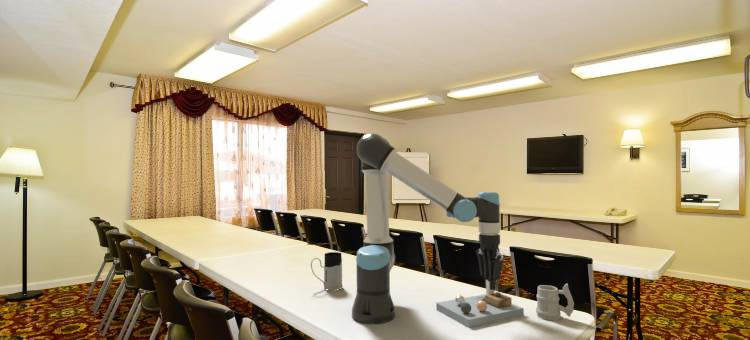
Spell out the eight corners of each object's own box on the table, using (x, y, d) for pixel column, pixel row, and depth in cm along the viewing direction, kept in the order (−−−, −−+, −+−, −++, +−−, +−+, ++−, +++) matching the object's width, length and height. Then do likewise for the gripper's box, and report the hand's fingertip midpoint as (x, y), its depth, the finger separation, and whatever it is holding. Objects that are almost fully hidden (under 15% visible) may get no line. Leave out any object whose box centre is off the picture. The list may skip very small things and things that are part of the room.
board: (468, 327, 117) (468, 319, 117) (436, 309, 133) (436, 302, 133) (523, 315, 127) (523, 308, 127) (487, 300, 143) (487, 293, 143)
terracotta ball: (481, 313, 122) (481, 303, 122) (474, 310, 125) (474, 300, 125) (489, 312, 123) (489, 301, 123) (482, 308, 127) (482, 298, 127)
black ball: (465, 315, 120) (464, 305, 120) (458, 312, 123) (458, 301, 124) (473, 314, 122) (473, 303, 122) (466, 310, 125) (466, 300, 125)
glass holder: (345, 289, 159) (345, 254, 159) (313, 293, 154) (313, 257, 154) (339, 284, 167) (339, 251, 167) (309, 287, 162) (308, 253, 162)
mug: (537, 311, 131) (536, 277, 131) (574, 316, 125) (573, 281, 125) (534, 318, 124) (534, 282, 125) (574, 324, 118) (573, 287, 119)
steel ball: (459, 307, 128) (458, 297, 128) (453, 304, 131) (452, 294, 131) (467, 306, 129) (466, 296, 129) (460, 303, 133) (460, 293, 133)
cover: (497, 307, 127) (497, 296, 127) (485, 302, 133) (484, 291, 133) (511, 304, 130) (511, 294, 130) (498, 299, 135) (498, 289, 135)
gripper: (510, 235, 131) (511, 301, 130) (484, 230, 143) (485, 291, 142) (494, 236, 128) (495, 304, 127) (469, 232, 140) (470, 294, 139)
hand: (490, 297), depth 135 cm, fingers closed
